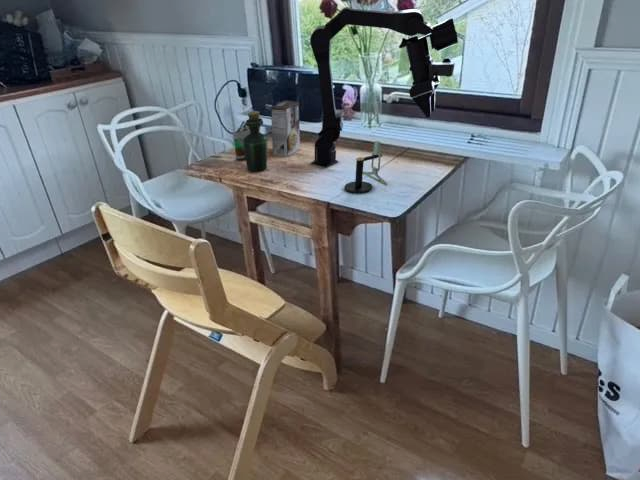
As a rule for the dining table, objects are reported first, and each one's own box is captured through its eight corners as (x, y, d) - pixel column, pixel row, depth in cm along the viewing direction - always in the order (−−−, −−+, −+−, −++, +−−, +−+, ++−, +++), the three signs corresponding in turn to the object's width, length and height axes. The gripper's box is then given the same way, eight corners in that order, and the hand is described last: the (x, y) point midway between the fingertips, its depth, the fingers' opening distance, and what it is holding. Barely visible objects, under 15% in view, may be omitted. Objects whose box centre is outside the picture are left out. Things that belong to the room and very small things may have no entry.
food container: (251, 162, 180) (249, 132, 174) (235, 162, 182) (232, 132, 176) (261, 150, 189) (260, 122, 182) (245, 150, 191) (243, 122, 184)
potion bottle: (273, 168, 173) (271, 112, 162) (253, 175, 170) (249, 117, 159) (260, 163, 179) (257, 107, 168) (240, 169, 176) (236, 113, 165)
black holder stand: (339, 187, 155) (340, 157, 150) (372, 178, 158) (374, 149, 153) (354, 195, 149) (356, 165, 144) (388, 187, 152) (391, 156, 147)
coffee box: (284, 147, 190) (283, 100, 180) (300, 149, 186) (300, 101, 176) (271, 155, 184) (270, 106, 174) (287, 157, 181) (286, 108, 171)
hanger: (385, 186, 149) (389, 147, 142) (361, 174, 158) (363, 136, 151) (388, 185, 149) (392, 146, 142) (364, 173, 158) (366, 135, 152)
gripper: (446, 50, 137) (457, 110, 143) (452, 44, 150) (462, 99, 157) (403, 67, 143) (415, 124, 149) (413, 59, 156) (424, 111, 163)
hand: (430, 114), depth 154 cm, fingers open, 9 cm apart
